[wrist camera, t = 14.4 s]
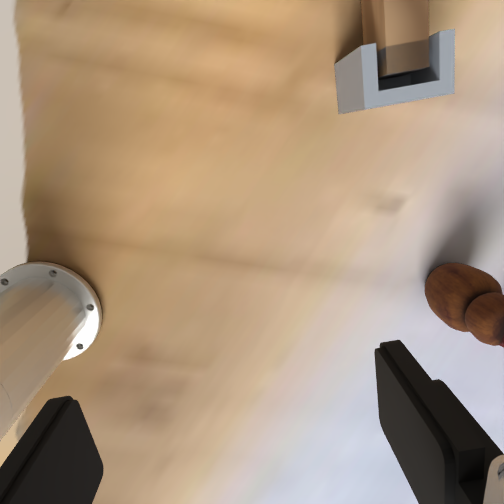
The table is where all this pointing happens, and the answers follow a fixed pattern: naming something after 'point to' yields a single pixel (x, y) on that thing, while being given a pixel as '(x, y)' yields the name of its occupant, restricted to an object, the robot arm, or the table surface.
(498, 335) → the wooden figurine
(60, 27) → the table surface
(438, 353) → the table surface
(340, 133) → the table surface
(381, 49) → the rail
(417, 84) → the post
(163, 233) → the table surface
